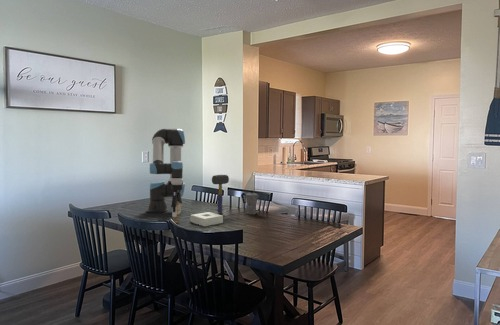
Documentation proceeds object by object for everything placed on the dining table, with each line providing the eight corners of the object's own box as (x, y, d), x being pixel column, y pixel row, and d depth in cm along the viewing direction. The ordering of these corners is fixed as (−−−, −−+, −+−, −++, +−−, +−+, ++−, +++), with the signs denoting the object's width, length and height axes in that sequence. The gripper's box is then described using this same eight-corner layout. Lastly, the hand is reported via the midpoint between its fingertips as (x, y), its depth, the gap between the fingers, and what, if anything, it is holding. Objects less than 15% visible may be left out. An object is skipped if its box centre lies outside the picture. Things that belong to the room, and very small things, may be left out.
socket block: (190, 221, 257) (190, 214, 256) (208, 218, 268) (209, 211, 267) (204, 226, 245) (204, 218, 245) (222, 222, 256) (223, 215, 256)
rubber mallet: (215, 214, 282) (216, 175, 280) (210, 213, 288) (211, 174, 285) (229, 212, 290) (229, 174, 287) (223, 211, 295) (224, 173, 293)
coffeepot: (261, 213, 291) (261, 190, 290) (256, 215, 283) (256, 192, 281) (243, 211, 298) (243, 188, 296) (238, 213, 289) (238, 190, 288)
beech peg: (172, 222, 255) (172, 202, 254) (177, 221, 258) (177, 201, 257) (175, 223, 252) (175, 203, 251) (181, 222, 255) (181, 202, 254)
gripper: (178, 186, 240) (178, 218, 242) (185, 182, 265) (185, 211, 266) (166, 186, 240) (166, 218, 242) (175, 181, 265) (175, 211, 267)
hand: (176, 214), depth 254 cm, fingers open, 13 cm apart
